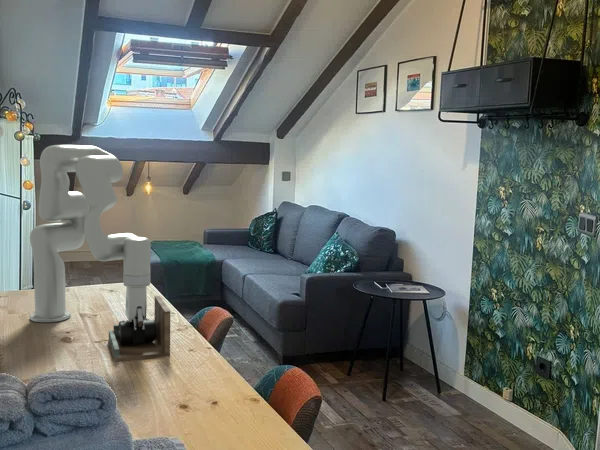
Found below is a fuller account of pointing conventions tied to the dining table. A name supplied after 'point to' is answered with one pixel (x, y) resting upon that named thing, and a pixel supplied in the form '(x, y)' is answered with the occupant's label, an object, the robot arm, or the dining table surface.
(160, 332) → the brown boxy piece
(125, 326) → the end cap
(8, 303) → the dining table surface
